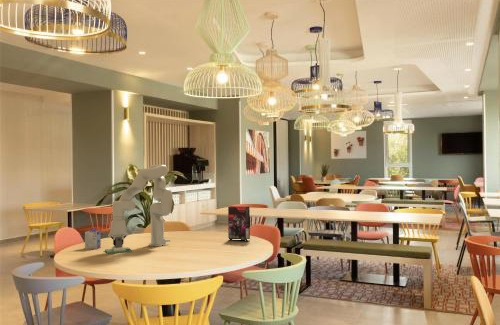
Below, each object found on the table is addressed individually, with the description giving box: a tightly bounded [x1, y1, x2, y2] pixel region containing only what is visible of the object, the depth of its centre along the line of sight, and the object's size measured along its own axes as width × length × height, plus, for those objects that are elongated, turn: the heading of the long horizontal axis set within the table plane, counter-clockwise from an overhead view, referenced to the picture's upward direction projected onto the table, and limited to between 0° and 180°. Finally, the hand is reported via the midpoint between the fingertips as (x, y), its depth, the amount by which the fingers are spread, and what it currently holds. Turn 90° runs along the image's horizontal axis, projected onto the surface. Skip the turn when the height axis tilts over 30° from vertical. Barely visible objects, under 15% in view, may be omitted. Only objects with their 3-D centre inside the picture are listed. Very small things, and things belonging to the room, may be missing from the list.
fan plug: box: [115, 235, 123, 248], centre depth 308 cm, size 4×9×8 cm, turn 26°
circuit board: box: [104, 245, 133, 255], centre depth 310 cm, size 16×13×3 cm
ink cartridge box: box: [84, 227, 102, 250], centre depth 323 cm, size 10×6×14 cm, turn 78°
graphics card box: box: [227, 205, 251, 240], centre depth 356 cm, size 17×7×27 cm, turn 58°
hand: (118, 245), depth 310 cm, fingers closed on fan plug, 4 cm apart
